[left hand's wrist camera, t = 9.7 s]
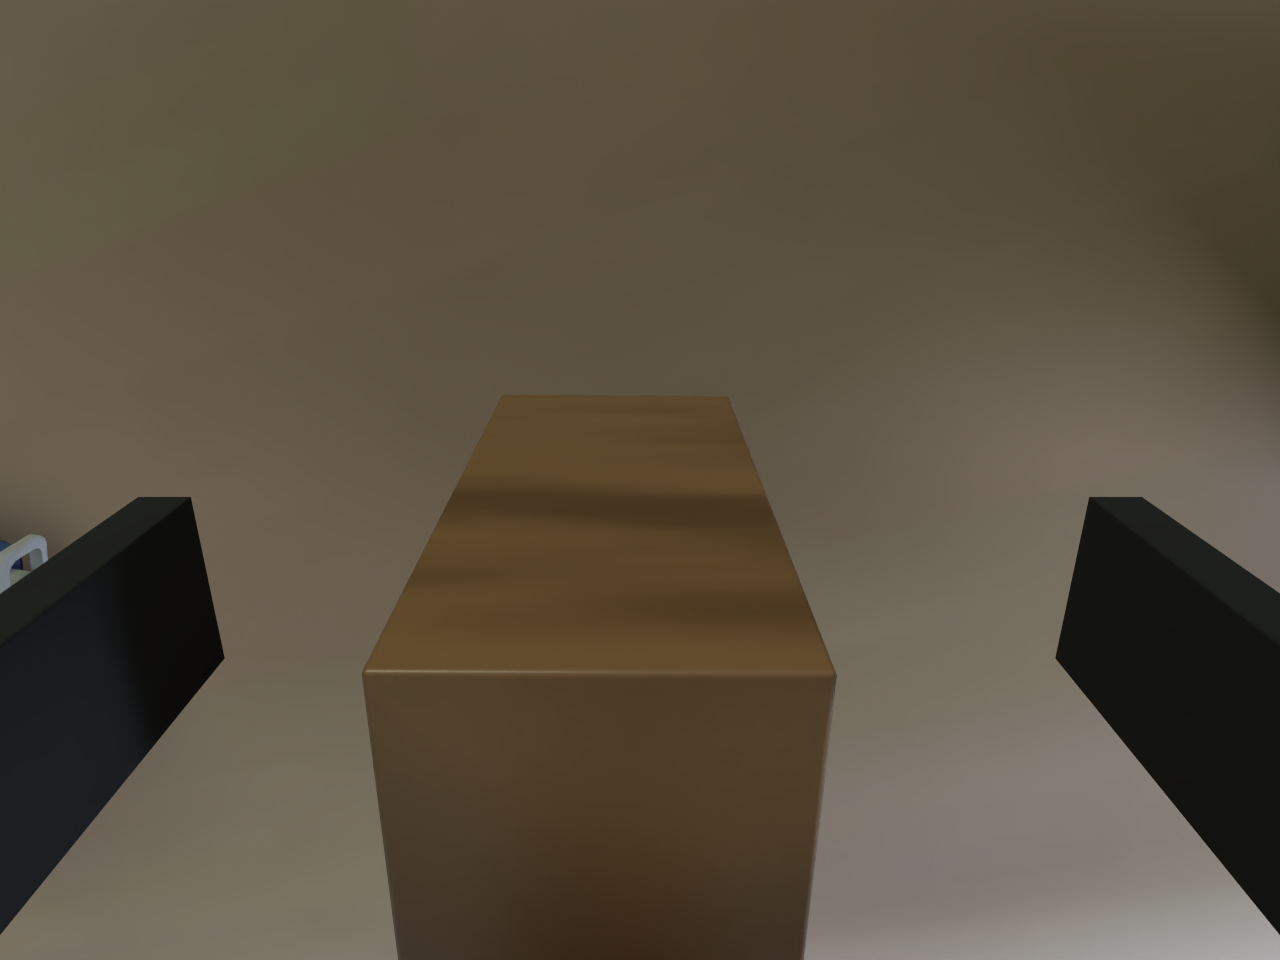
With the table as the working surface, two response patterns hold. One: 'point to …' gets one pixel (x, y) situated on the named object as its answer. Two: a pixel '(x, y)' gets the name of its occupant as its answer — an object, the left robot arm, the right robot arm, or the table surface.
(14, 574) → the blue yellow printed carton
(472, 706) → the box
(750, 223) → the table surface
